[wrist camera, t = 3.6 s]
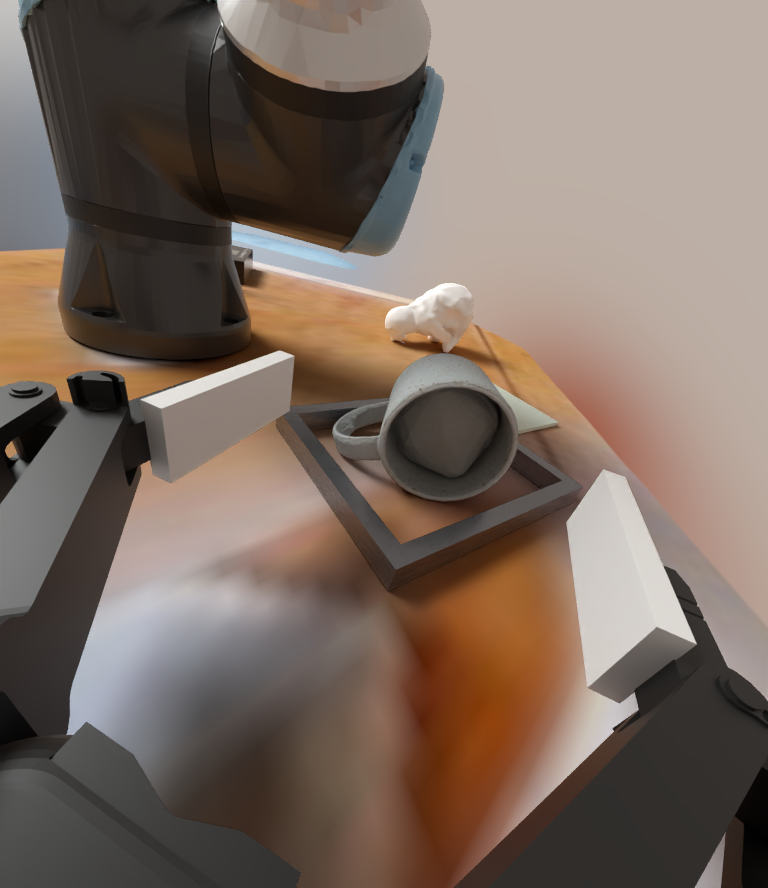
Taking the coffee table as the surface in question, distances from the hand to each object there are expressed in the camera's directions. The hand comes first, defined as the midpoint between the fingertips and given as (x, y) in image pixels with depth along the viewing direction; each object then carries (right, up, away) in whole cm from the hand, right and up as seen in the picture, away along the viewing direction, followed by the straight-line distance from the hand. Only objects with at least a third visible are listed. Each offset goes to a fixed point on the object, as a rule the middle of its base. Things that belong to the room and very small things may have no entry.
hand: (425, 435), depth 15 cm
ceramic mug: (0, -2, +10) cm, 10 cm away
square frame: (+1, -2, +10) cm, 10 cm away
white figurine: (+3, +14, +36) cm, 39 cm away
